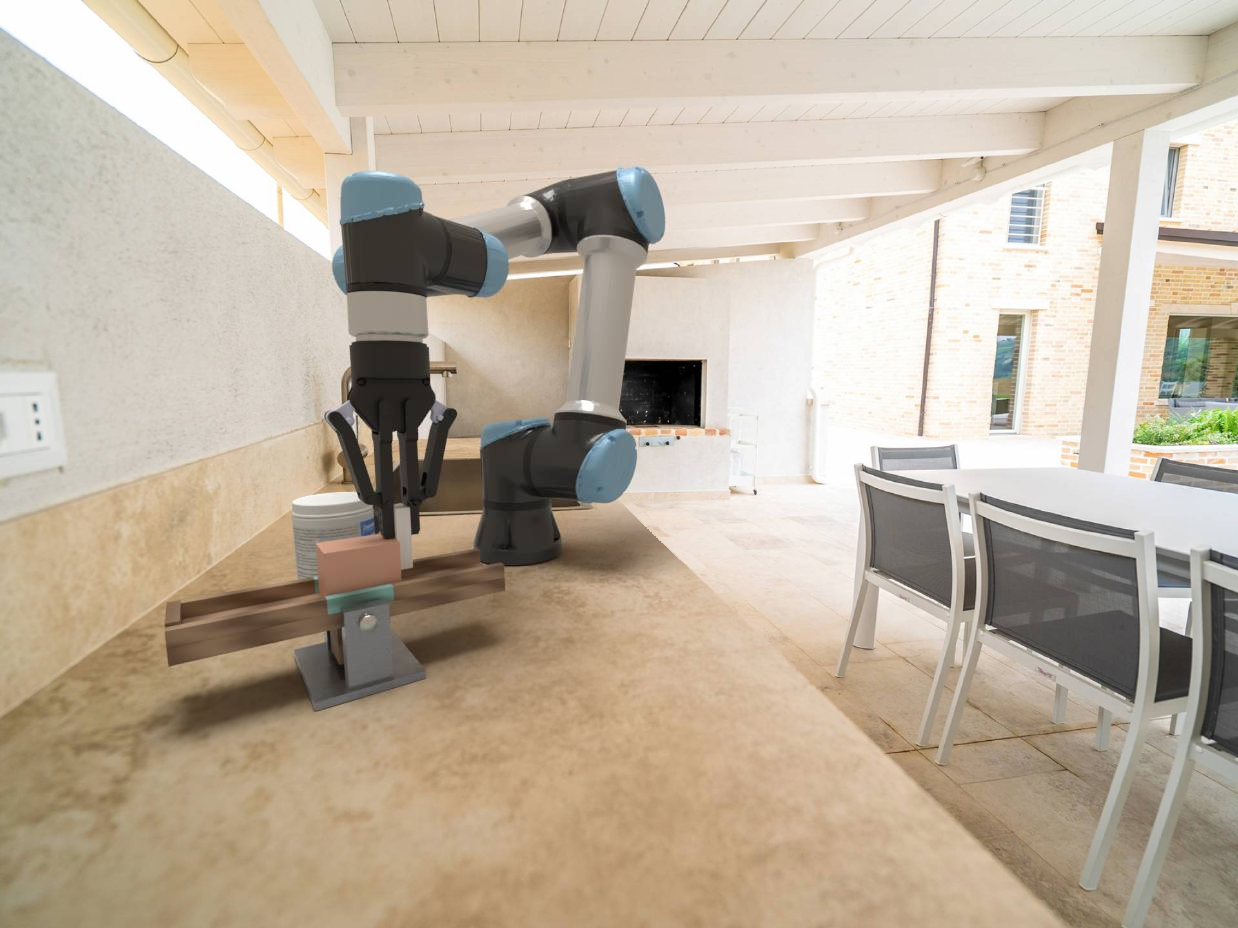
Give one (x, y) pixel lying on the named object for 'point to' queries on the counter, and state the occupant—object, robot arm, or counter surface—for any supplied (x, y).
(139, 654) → the counter surface
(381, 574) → the block
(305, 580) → the beam
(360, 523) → the supplement tub
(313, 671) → the stand
